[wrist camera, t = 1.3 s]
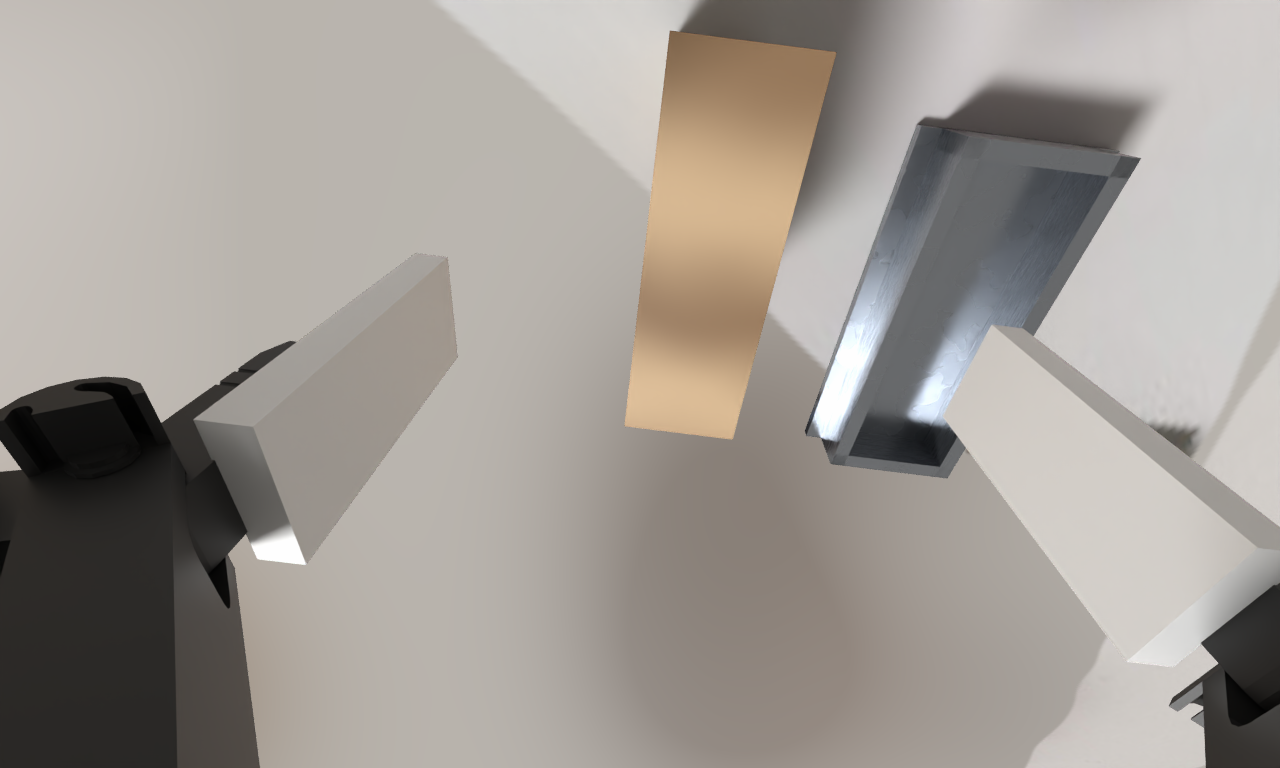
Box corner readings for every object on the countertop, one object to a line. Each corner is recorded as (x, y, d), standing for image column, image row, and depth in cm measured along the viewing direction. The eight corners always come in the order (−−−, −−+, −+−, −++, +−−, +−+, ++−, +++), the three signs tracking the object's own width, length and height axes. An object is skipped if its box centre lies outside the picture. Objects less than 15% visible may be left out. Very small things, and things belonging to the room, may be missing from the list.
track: (917, 124, 23) (946, 133, 21) (1111, 149, 23) (1163, 161, 21) (804, 430, 33) (815, 462, 31) (941, 447, 33) (962, 480, 31)
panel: (673, 39, 22) (669, 30, 12) (764, 51, 22) (836, 52, 12) (643, 295, 29) (624, 426, 19) (713, 303, 29) (732, 439, 19)
